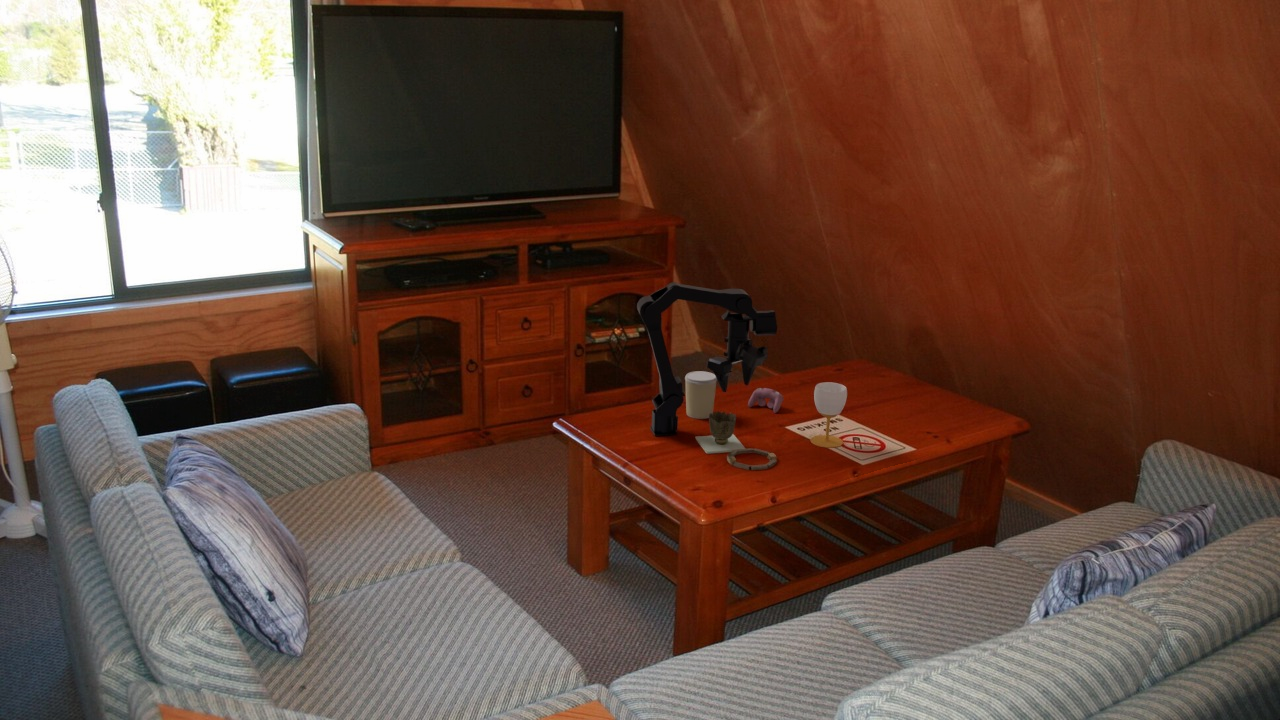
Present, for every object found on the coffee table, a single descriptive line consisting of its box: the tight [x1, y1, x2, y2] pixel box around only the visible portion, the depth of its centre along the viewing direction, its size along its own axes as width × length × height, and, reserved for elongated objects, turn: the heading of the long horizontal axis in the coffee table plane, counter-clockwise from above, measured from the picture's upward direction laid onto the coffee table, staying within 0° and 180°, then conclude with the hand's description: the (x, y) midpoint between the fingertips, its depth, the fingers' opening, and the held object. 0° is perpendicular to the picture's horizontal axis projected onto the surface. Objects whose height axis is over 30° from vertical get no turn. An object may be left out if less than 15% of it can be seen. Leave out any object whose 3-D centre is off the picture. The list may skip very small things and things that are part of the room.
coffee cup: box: [684, 370, 718, 420], centre depth 307 cm, size 9×9×12 cm
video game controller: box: [747, 387, 784, 414], centre depth 315 cm, size 10×5×7 cm, turn 59°
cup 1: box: [708, 410, 737, 445], centre depth 285 cm, size 8×7×8 cm
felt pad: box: [695, 433, 746, 454], centre depth 287 cm, size 11×11×1 cm
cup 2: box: [810, 381, 848, 449], centre depth 288 cm, size 9×9×16 cm
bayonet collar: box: [726, 447, 778, 471], centre depth 276 cm, size 13×12×1 cm
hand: (735, 388), depth 294 cm, fingers open, 9 cm apart
